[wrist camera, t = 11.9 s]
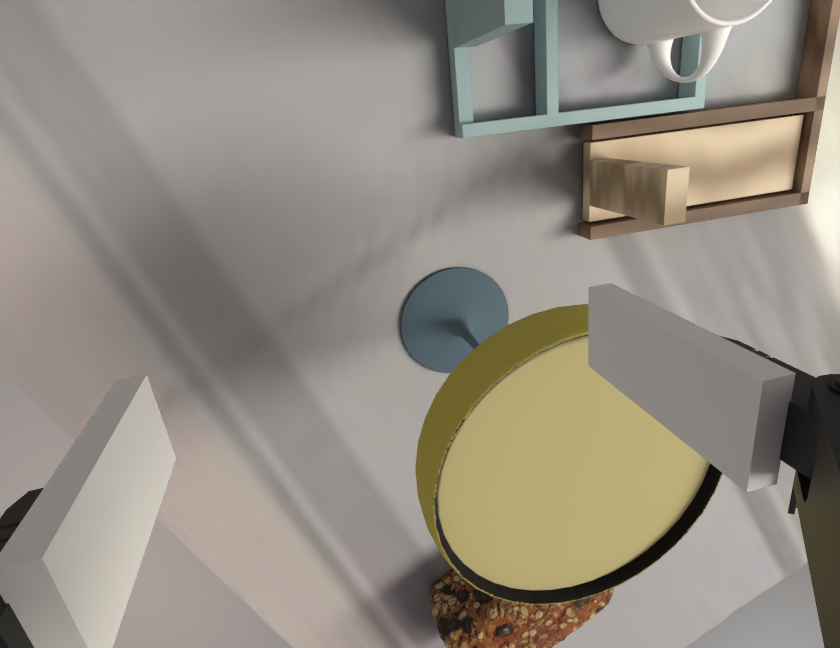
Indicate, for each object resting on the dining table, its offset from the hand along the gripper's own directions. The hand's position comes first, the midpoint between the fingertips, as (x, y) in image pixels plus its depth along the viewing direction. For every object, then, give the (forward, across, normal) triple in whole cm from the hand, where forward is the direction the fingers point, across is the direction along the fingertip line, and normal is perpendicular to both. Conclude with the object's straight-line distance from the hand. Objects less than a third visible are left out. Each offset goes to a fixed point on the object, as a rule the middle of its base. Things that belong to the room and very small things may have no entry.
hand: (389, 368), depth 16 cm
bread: (+32, +14, -45) cm, 57 cm away
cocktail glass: (+32, +10, -12) cm, 36 cm away
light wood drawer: (+32, +35, -1) cm, 47 cm away
